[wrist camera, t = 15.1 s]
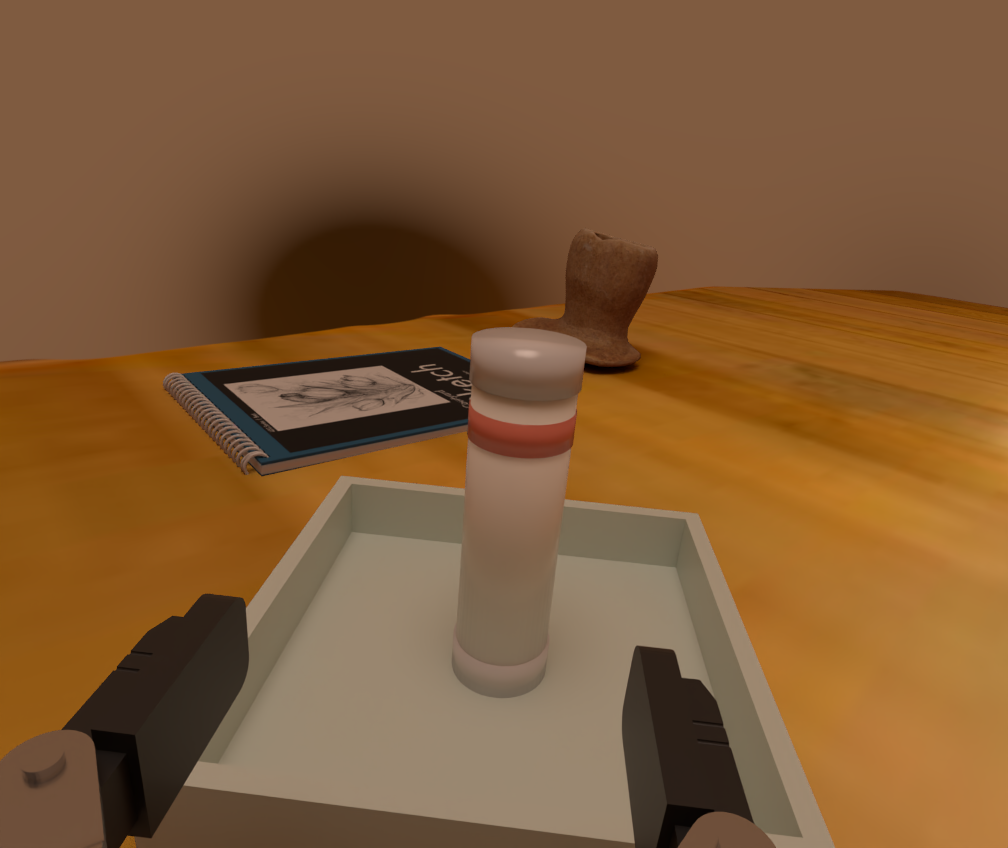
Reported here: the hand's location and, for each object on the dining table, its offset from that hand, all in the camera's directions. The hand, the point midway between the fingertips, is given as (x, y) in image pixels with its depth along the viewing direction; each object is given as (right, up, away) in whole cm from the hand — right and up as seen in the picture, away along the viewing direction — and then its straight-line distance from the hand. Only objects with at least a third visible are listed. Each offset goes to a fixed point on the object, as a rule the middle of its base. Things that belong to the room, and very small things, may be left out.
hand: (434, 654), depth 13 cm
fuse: (+1, -5, +15) cm, 16 cm away
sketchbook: (-11, +7, +48) cm, 49 cm away
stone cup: (+11, +13, +68) cm, 70 cm away
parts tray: (+1, -6, +15) cm, 16 cm away
